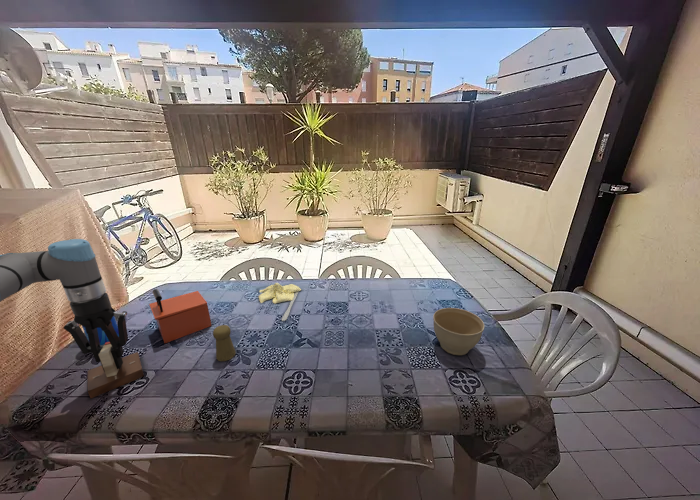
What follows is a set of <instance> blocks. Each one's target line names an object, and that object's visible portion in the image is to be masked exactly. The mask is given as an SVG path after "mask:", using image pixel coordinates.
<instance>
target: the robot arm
mask: <svg viewBox="0 0 700 500" xmlns="http://www.w3.org/2000/svg"><path fill="white" fill-rule="evenodd" d="M52 281H60V283H61V286H62V288H63V291H64V293H65V296H66V298H67V301H68V302H69V306H70V309H71V312H72V314H73V316H74V317H73V320H69V321H67V322H66V323H65V325H64V326H63V329H64V330H65V331H66V332H68V333H69V334H70V335H71V337H72V339H73V340H74V342H75V344H76V345H77V347H78V348H79V350H80V351H81V353H82V355H83V354H84V355H87V354H92V356H93V357H94V360H95V362H96V363H100V366H101V365H102V363H101V360H100V357H99V353H100V351H101V350H102V348H103V347H101V346H100V342H99V336H98V331H97V328H101V329H102V331H104V332H105V334H106V336H107V338H108V340H109V342H110V343H111V345H112V347H113V348H112V349H111V354H112V356H113V359H114V362H115V365H116V367H117V369H120V368H121V366H122V364H123V360H122V358H123V355H124V353H125V352H124V350H123V347H124V346H125V345H126V344H127V342H128V340H129V337H128V328H127V321H126V318H127V315H128V312H127V311H126V310H124V311H122V312H120V311H116V310H115V309H114V308H113V307H112V303H111V300H110V297H109V295H108V293H107V288H106V285H105V282H104V280H103V277H102V275H101V271H100V268H99V265H98V261H97V259H96V254H95V253H94V249H93V248H92V246H91V243H90V242H89V240H87V239H83V238H72V239H64V240H59V241H56V242H52V243H50V244H49V245H48V246H47V250H41V251H29V252H7V253H4V254H0V303H1V302H3V301H4V300H6V299H7V298H9V297H11V296H13V295H15V294H17V293H18V292H21V291H22V290H24V289H25V288H27V287H29V286H31V285H33V284H35V283H43V282H52ZM113 316H114V317H115V320H116V323H117V326H118V332H119V337H118V335H117V333H116V331H115V330H114V328H113V326H112V322H111V319H112V318H113ZM82 326H83V327H85V328H86V333H87V334H88V338H89V341H88V339H87V338H86V335H85V332H84V330H83V327H82ZM102 367H103V365H102ZM103 370H104V368H103ZM104 372H105V371H104Z"/></svg>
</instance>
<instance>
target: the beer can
mask: <svg viewBox="0 0 700 500" xmlns="http://www.w3.org/2000/svg"><path fill="white" fill-rule="evenodd" d="M111 322H112V326H113V328H114V330H115V331H116V333H117V335H118V337H119V332H118V325H117V321H116V319H115V317H114V316H113V318H112V319H111ZM81 328H82V331H83V333H84V334H85V336H86V338H87V339H88V341H89V338H88V334H87V333H86V328H85V327H83V326H82V325H81ZM97 331H98V336H99V342H100V346H101V347H100V348H103V346H104V344H105V343H106V342H109V340H108V338H107V336H106V334H105V332H104V331H102V329H101V328H97Z"/></svg>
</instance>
